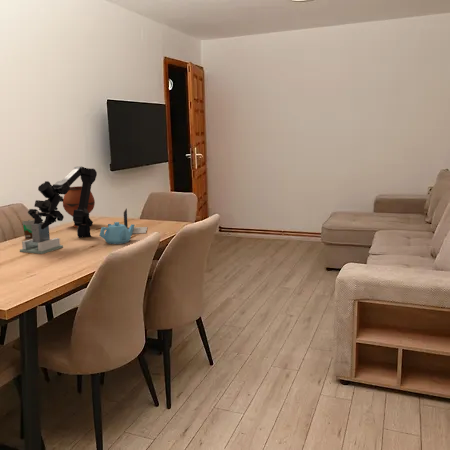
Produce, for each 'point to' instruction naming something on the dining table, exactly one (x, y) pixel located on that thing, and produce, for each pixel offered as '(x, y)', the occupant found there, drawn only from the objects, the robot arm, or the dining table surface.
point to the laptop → (136, 229)
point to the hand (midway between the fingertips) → (38, 228)
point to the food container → (28, 228)
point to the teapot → (116, 233)
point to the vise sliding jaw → (29, 244)
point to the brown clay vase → (76, 201)
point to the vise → (44, 246)
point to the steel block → (40, 232)
